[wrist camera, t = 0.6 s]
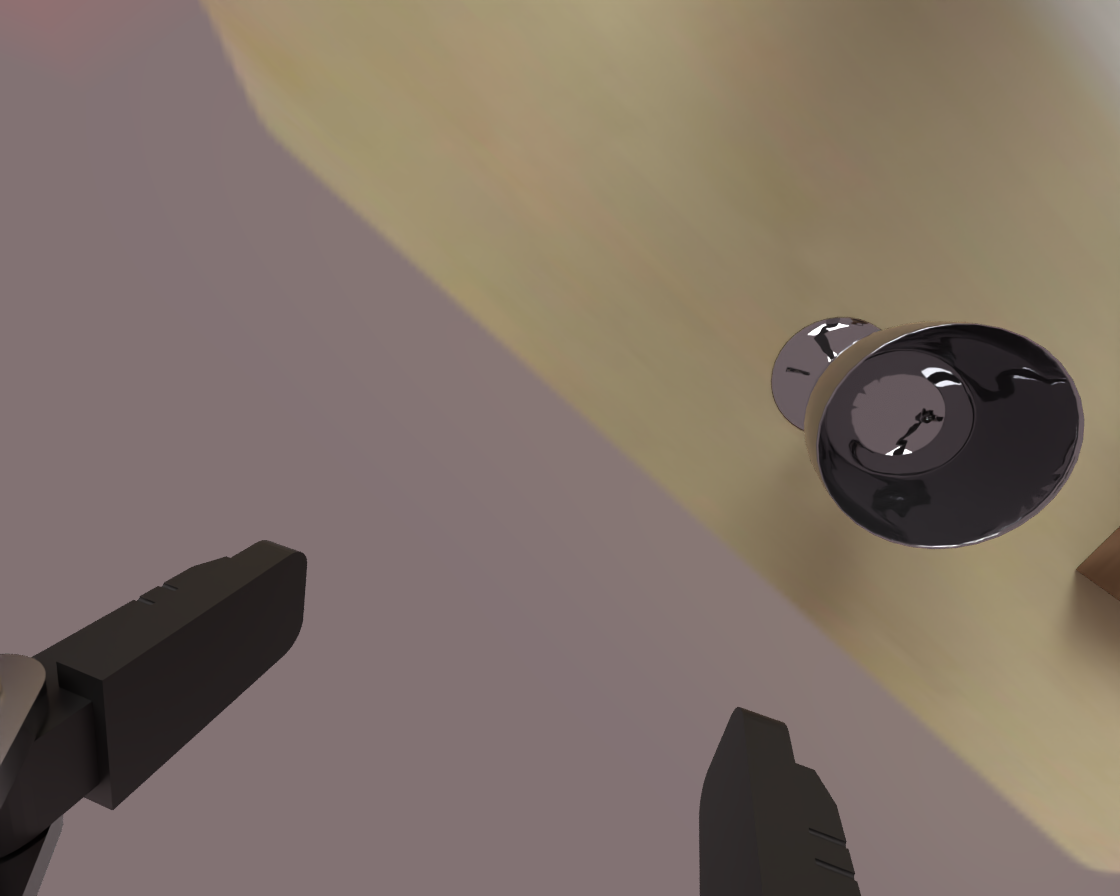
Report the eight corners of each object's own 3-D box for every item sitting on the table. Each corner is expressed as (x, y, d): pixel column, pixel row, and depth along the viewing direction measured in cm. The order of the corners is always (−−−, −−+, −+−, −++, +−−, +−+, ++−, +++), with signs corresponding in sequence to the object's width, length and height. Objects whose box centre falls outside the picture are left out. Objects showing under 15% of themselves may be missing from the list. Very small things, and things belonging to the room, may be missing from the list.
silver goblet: (822, 467, 34) (914, 589, 20) (736, 375, 34) (769, 433, 20) (940, 381, 31) (1142, 453, 17) (848, 279, 31) (979, 268, 17)
